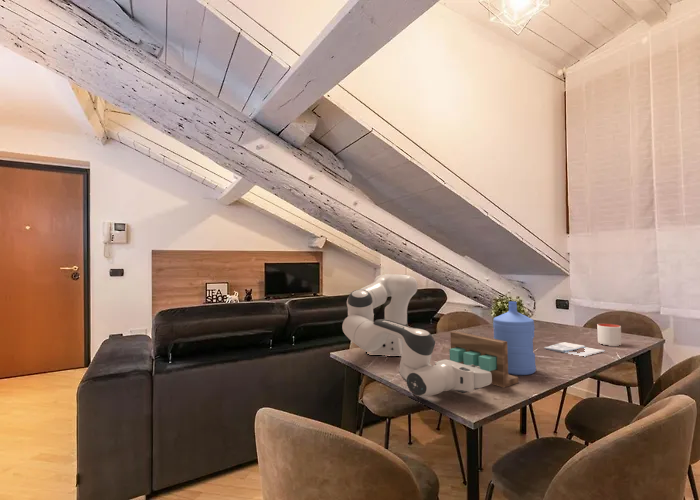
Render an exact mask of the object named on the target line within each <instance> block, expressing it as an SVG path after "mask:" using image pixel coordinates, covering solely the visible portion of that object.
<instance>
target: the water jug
mask: <svg viewBox="0 0 700 500" xmlns="http://www.w3.org/2000/svg"><path fill="white" fill-rule="evenodd" d="M517 303H518V302H517V301H515V300H514V301H512V300H511V301H508V311H507V312H504V313H502V314H500V315H498V316H495V317H493V320H492V321H493V322H492V326H493V327H492V328H493V339H497V340H502V341H507V349H508V374H509V375H512V376H529V375H532V374H534V373H536V370H537V368H536V367H537V365H536V354H535V352H534V343H533V342H534V338H535V320H534V319H533V318H531V317H528V316H527V315H525V314H522V313H520V312H519V311H518V309H517V308H518V305H517Z"/></svg>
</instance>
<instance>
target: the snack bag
mask: <svg viewBox="0 0 700 500" xmlns="http://www.w3.org/2000/svg"><path fill="white" fill-rule="evenodd" d="M543 348H544V350H548V351H553V352H558V353H562V354H565V353H568V354H567V355H571V354H573V355H572V356H575V355H579V356H578V357H580V356H584V357H583V358H587V357H586V356H588V355H592V354H595V355H597V354H596V353H599V352H604V351H606V350H605V349H600V348H599V349H597V348H592V347H587V346H586V345H584V344H577V343H570V342H565V341H564V342H559V343H555V344H552V345H551V344H550V345H549V346H547V345H546V346H544V347H543ZM580 348H584V349H585V350H584V351H585V352H580V353H577V352H569V351H573V350H574V351H578V350H577V349H580ZM606 352H607V351H606ZM604 353H605V352H604ZM599 354H600V353H599ZM592 356H593V355H592ZM588 357H589V356H588Z"/></svg>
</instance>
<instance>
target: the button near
mask: <svg viewBox="0 0 700 500" xmlns="http://www.w3.org/2000/svg"><path fill="white" fill-rule="evenodd" d="M479 366H480V369H483V370H486V371H492V370H496V369H497V356H493V355H489V354H486V355H482V356H479Z"/></svg>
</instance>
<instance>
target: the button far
mask: <svg viewBox="0 0 700 500" xmlns="http://www.w3.org/2000/svg"><path fill="white" fill-rule="evenodd" d="M448 350H449V360H451V361H455V362H458V363H459V362H463V361H464V358H463V353H464V352H466V349H464V348H460V347H456V348H452V349H451V348H449V349H448Z"/></svg>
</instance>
